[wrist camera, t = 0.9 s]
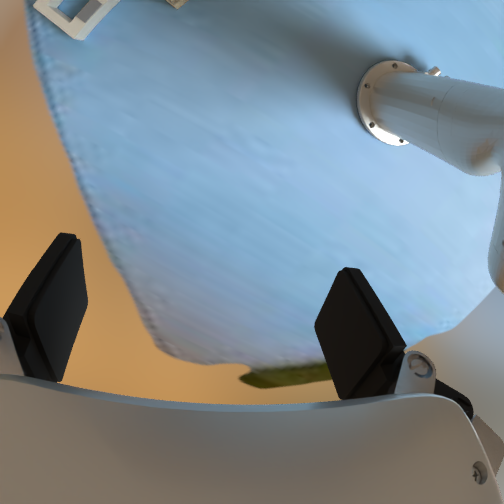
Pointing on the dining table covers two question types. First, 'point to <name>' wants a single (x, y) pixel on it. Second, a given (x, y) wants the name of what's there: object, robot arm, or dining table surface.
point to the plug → (177, 3)
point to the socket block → (83, 21)
